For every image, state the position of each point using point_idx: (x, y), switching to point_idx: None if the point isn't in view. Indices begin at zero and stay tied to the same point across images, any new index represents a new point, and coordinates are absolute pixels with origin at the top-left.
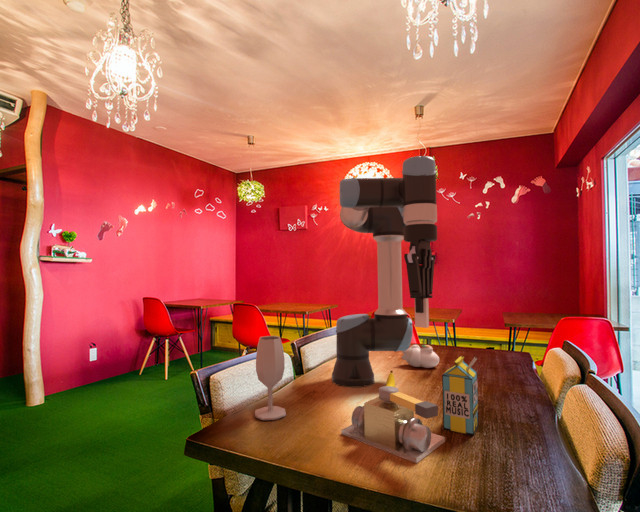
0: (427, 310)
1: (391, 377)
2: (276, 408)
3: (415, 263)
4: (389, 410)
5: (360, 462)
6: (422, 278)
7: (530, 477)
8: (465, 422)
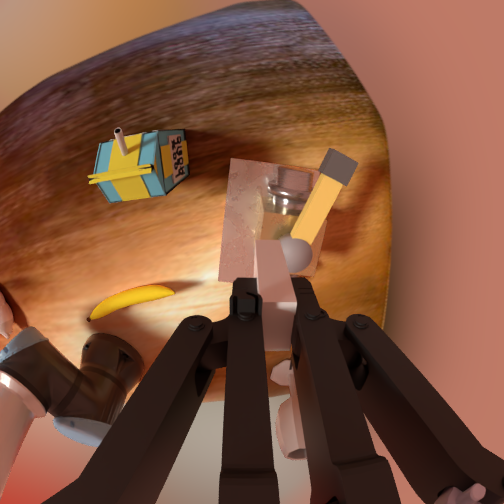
0: (271, 270)
1: (99, 312)
2: (279, 375)
3: (482, 452)
4: (325, 229)
5: (350, 230)
6: (355, 395)
7: (269, 44)
8: (182, 141)
